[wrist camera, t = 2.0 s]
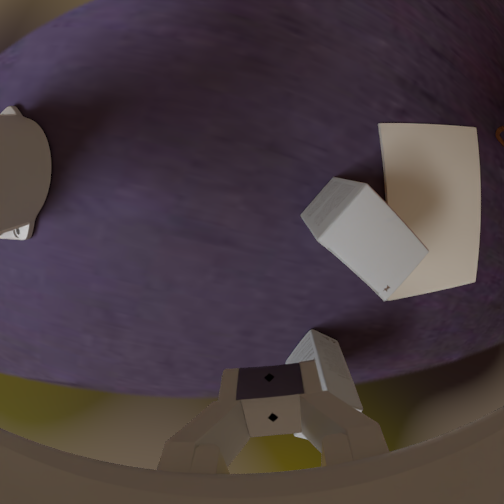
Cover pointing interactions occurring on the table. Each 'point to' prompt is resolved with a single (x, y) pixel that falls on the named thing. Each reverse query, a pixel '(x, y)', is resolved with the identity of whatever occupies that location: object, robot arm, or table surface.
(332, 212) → the small box
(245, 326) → the table surface
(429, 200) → the felt mat
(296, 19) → the table surface
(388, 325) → the table surface
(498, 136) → the glasses
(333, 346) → the skincare box
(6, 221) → the robot arm
